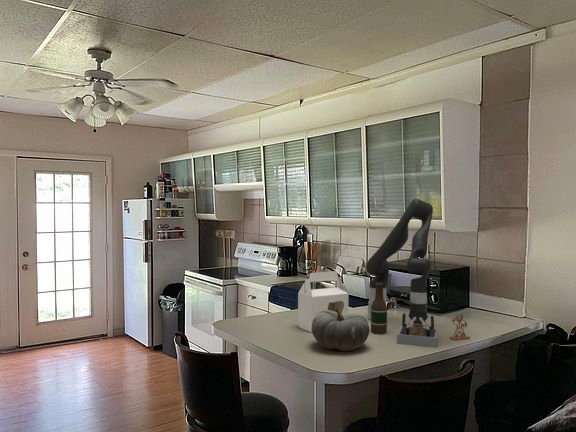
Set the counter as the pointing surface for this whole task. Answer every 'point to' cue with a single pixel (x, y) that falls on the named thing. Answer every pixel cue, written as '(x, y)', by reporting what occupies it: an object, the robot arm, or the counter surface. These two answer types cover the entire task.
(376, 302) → the beer bottle
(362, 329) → the gourd
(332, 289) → the gable box
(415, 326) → the walnut block
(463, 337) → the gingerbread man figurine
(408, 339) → the grey bin
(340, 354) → the counter surface
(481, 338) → the counter surface
